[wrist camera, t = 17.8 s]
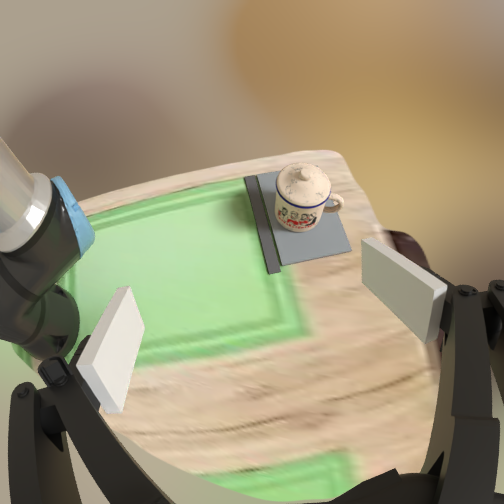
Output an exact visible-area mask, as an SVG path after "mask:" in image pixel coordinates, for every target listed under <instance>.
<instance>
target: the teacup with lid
mask: <svg viewBox="0 0 504 504" xmlns="http://www.w3.org/2000/svg"><path fill="white" fill-rule="evenodd" d="M276 189H277V190H276V201H275V216H276V218H277V220H278V222H279V223H280V224H281V225H282V226H283V227H285V228H286V229H288V230H291V231H294V232H305V231H308V230H311V229H312V228H314V227H315V226H316V225H317V224H318V222H319V220H320V218H321V215H322V212H324V213H335V212H338V211H340V210H341V209H342V208H343V205H344V200H343V198H342V197H341V196H339V195H337V194H334V193H331V185H330V181H329V179H328V177H327V175H326V174H325V173H324V172H323V171H322V170H321V169H319V168H318V167H316V166H314V165H311V164H307V163H294V164H291V165H288V166H286V167H285V168H283V169H282V170H281V171H280V173H279V174H278V176H277V178H276ZM327 199H330V200H334V201H337V202H338V203H339V204H338V205H336V206H333V207H327V206H325V203H326V201H327Z"/></svg>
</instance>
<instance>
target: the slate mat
mask: <svg viewBox="0 0 504 504" xmlns="http://www.w3.org/2000/svg"><path fill="white" fill-rule="evenodd" d="M316 167H318V166H316ZM279 173H280V171H276V172H270V173H263V174H257V178H258V181H259V185H260V188H261V192H262V195H263V199H264V202H265V206H266V209H267V213H268V216H269V220H270V223H271V227H272V231H273V234H274V238H275V241H276V245H277V249H278V252H279V256H280V260H281V263H282V266H285V265H290V264H294V263H299V262H304V261H309V260H313V259H318V258H323V257H327V256H332V255H337V254H341V253H346V252H350V251H352V249H351V247H350V244H349V241H348V239H347V236H346V233H345V231H344V228H343V225H342V223H341V220H340V218H339V215H338V213H337V212H335V213H324V212H322V215H321V218H320V220H319V222H318V224H317V225H316V226H315V227H314V228H312V229H311V230H308V231H305V232H294V231H291V230H288V229H286V228H285V227H283V226H282V225H281V224H280V223H279V222H278V220H277V218H276V216H275V201H276V190H277V189H276V178H277V176H278V174H279ZM325 206H327V207H333V206H335V205H334V203H333V201H332V200H330V199H327V201H326V203H325Z"/></svg>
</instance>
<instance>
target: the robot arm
mask: <svg viewBox="0 0 504 504" xmlns="http://www.w3.org/2000/svg"><path fill="white" fill-rule="evenodd" d="M94 240H95V233H94V230H93V228H92V226H91V224H90V223H89V221H88V219H87V218H86V216H85V214H84V213H83V211H82V209H81V208H80V206H79V205H78V203H77V202H76V200H75V198H74V196H73V195H72V193H71V191H70V190H69V188H68V187H67V185H66V184H65V182H64V181H63V179H62V178H61V177H60V176H56V177H55V178H52V179H51V180H49V179H48V178H47V177H46V176H45V175H44V174H42V173H31V174H29V173H28V172H27V170H26V169H25V168H24V167H23V165H22V164H21V163H20V162H19V161H18V159H17V158H16V157H15V155H14V154H13V153H12V151H11V150H10V149H9V147H8V146H7V145H6V143H5V142H4V141H3V139H2V138H1V137H0V339H2V340H5V341H8V342H12V343H15V344H18V345H20V346H21V347H22V348H23V349H24V350H26V351H27V352H28V353H29V354H30V355H32V356H33V357H35V358H36V359H39V360H42V361H43V362H42V363H41V364H40V365H39V367H38V373H39V375H40V376H41V378H42V379H43V381H44V382H45V384H46V385H47V387H46V388H43V389H39V390H37V389H36V388H35V386H34V385H33V384H32V383H31V382H24V383H22V384H19V385H18V386H17V387H16V388H15V389H14V391H13V392H12V395H11V405H10V416H9V433H8V470H9V487H10V498H11V504H82V502H81V499H80V495H79V492H78V488H77V484H76V481H75V476H74V472H73V468H72V463H71V459H70V454H69V448H68V443H67V437H66V431H67V432H68V434H69V436H70V438H71V440H72V442H73V444H74V446H75V447H76V449H77V451H78V453H79V455H80V457H81V458H82V460H83V462H84V463H85V465H86V467H87V469H88V470H89V472H90V474H91V475H92V477H93V479H94V480H95V482H96V483H97V485H98V486H99V488H100V489H101V491H102V492H103V494H104V495H105V497H106V498H107V500H108V501H109V502H110V504H175V503H174V502H173V501H172V500H171V499H170V498H169V497H168V496H167V495H166V494H165V493H164V492H163V491H162V490H161V489H160V488H159V487H158V486H157V485H156V484H155V483H154V481H153V480H152V479H151V478H150V477H149V476H148V475H147V474H146V472H145V471H144V470H143V469H142V468H141V467H140V466H139V464H138V463H137V462H136V461H135V460H134V458H133V457H132V456H131V455H130V454H129V452H128V451H127V450H126V449H125V447H124V446H123V445H122V443H121V442H120V441H119V440H118V438H117V437H116V436H115V434H114V433H113V432H112V430H111V429H110V427H109V426H108V425H107V423H106V422H105V420H104V419H103V418H102V416H101V415H100V413H99V412H98V411H99V408H100V405H101V406H102V408H103V409H104V410H105V412H106V413H107V414H111V413H122V412H123V407H124V403H125V399H126V395H127V391H128V387H129V383H130V379H131V375H132V372H133V368H134V364H135V361H136V357H137V353H138V350H139V346H140V343H141V340H142V336H143V333H144V330H145V326H144V323H143V321H142V318H141V315H140V313H139V310H138V307H137V304H136V302H135V299H134V296H133V293H132V290H131V288H130V286H125V287H120V288H117V290H116V292H115V293H114V295H113V297H112V299H111V300H110V302H109V304H108V306H107V307H106V309H105V311H104V313H103V314H102V316H101V318H100V320H99V322H98V324H97V325H96V327H95V329H94V331H93V333H92V335H87V336H86V337H85V338H84V339H83V340H82V341H81V342H80V344H79V346H78V348H77V350H76V352H75V354H74V356H73V357H72V359H71V361H70V363H69V365H68V364H67V362H66V361H65V359H64V357H65V356H66V355H67V354H68V353H69V352H70V351H71V349H72V348H73V346H74V344H75V342H76V339H77V336H78V332H79V324H80V319H79V311H78V307H77V304H76V302H75V300H74V298H73V297H72V295H71V294H70V293H69V292H68V291H66V290H65V289H63V288H62V287H60V286H58V285H55V283H56V282H57V281H58V280H59V279H60V278H61V277H62V276H63V275H64V274H65V273H66V272H67V271H68V270H69V269H70V268H71V267H72V266H73V265H74V264H75V263H76V262H77V261H78V260H79V259H81V258H82V257H83V254H84V253H85V252H86V251H87V250H88V249H89V248H90V247H91V245H92V244H93V243H94ZM361 245H362V283H363V284H364V285H365V286H366V287H367V288H368V289H369V290H370V291H371V292H372V293H373V294H374V295H376V296H377V297H378V298H379V299H380V300H381V301H382V302H383V303H384V304H385V305H386V306H387V307H388V308H389V309H390V310H391V311H392V312H393V313H394V314H395V315H396V316H397V317H398V318H399V319H400V320H401V321H402V322H403V323H404V324H405V325H406V326H407V327H408V328H409V329H410V330H411V331H412V332H413V333H414V334H415V335H416V336H417V337H418V338H419V339H420V340H421V341H422V342H423V343H424V344H427V343H429V342H431V341H433V340H436V339H437V337H438V333H439V329H440V328H441V329H442V330H443V331H444V337H443V341H442V345H441V348H440V352H442V362H441V373H440V383H439V391H438V398H437V405H436V411H435V417H434V423H433V428H432V433H431V438H430V443H429V447H428V451H427V455H426V459H425V462H424V465H423V467H422V469H421V472H420V473H407V474H400V475H399V474H398V472H397V470H396V469H395V468H394V469H392V470H390V471H388V472H385V473H383V474H381V475H378V476H376V477H373V478H371V479H368V480H366V481H363V482H362V483H360V484H358V485H357V486H355V487H354V488H352V489H351V490H349V491H347V492H346V493H344V494H342V495H340V496H339V497H337V498H335V499H334V500H332V501H329V502H321V503H304V504H504V494H501V493H495V492H494V490H495V483H496V476H497V467H498V456H499V440H500V422H499V420H498V418H493V417H492V388H491V387H492V386H491V370H490V365H491V368H492V370H493V373H494V376H495V379H496V382H497V385H498V388H499V391H500V394H501V397H502V401H503V404H504V281H503V280H493V281H491V282H490V283H489V287H488V291H484V292H478V290H477V289H475V288H474V287H472V286H469V285H458V286H454V285H453V284H451V283H450V282H448V281H447V280H445V279H444V278H442V277H440V276H439V275H438V274H435V272H433V271H432V270H430V269H429V268H426V267H422V266H418V265H416V264H415V263H413V262H412V261H410V260H409V259H407V258H405V257H404V256H402V255H401V254H399V253H398V252H396V251H394V250H393V249H391V248H389V247H388V246H386V245H385V244H383V243H381V242H380V241H378V240H376V239H375V238H373V237H371V238H366V239H362V240H361Z"/></svg>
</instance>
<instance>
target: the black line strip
mask: <svg viewBox="0 0 504 504" xmlns="http://www.w3.org/2000/svg"><path fill="white" fill-rule="evenodd" d="M245 181H246V185H247V189H248V192H249V196H250V200H251V204H252V208H253V212H254V216H255V220H256V224H257V228H258V232H259V236H260V240H261V244H262V248H263V252H264V255H265V259H266V263H267V267H268V272H269V274H274V273H278V272H281V270H280V266H279V262H278V259H277V255H276V251H275V247H274V244H273V240H272V236H271V233H270V229H269V225H268V222H267V218H266V215H265V211H264V207H263V204H262V200H261V197H260V193H259V189H258V186H257V182H256V179H255V175H253V176H247V177H245Z"/></svg>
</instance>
